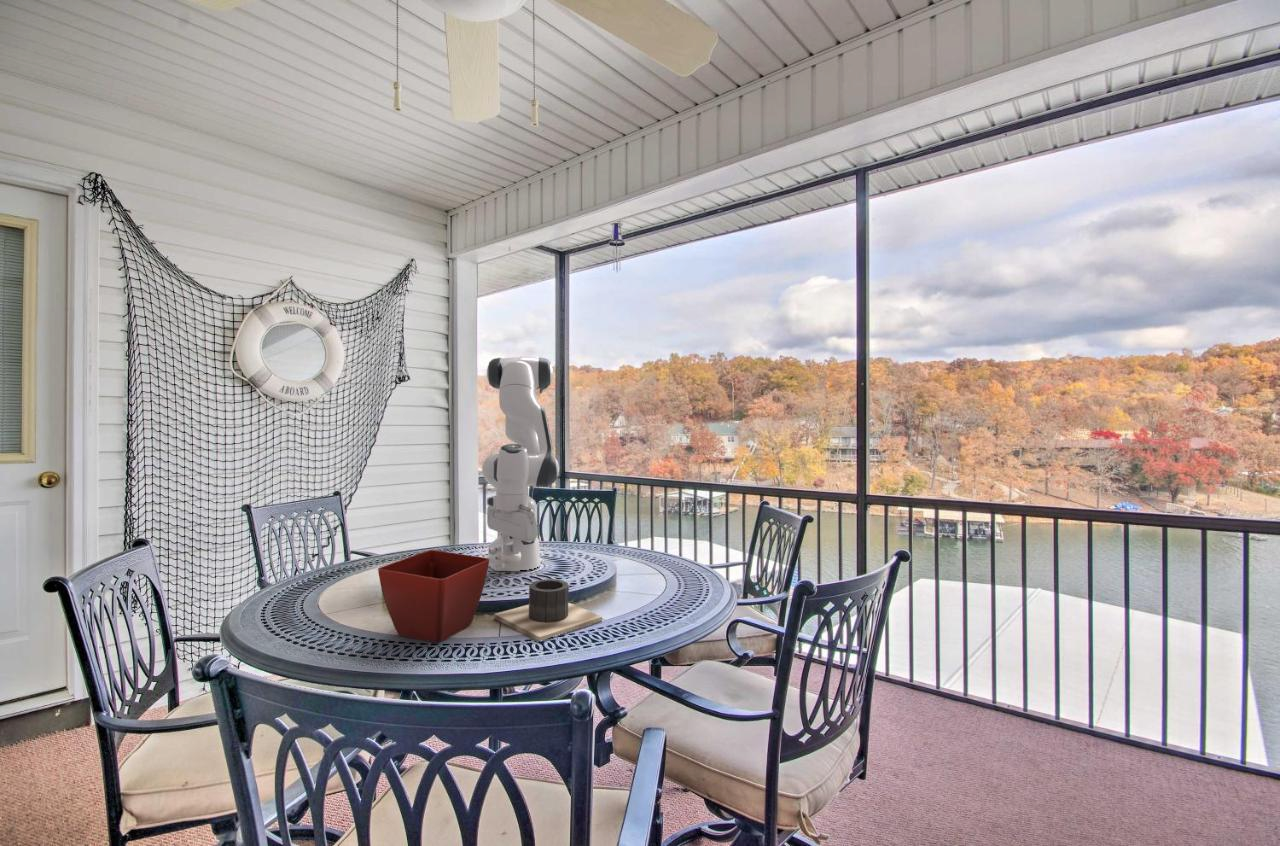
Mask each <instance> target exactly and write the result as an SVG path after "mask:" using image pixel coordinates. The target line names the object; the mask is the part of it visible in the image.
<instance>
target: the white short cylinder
mask: <svg viewBox="0 0 1280 846" xmlns="http://www.w3.org/2000/svg"><path fill="white" fill-rule="evenodd" d="M511 545H513V542H510V543H505V544H503V552H502V553H501V562H502V563H507V564H513V563H518V562H520V561H521V553H520V552H519V551H518V552H515V553H514V552H512V551H511Z"/></svg>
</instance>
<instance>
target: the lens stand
mask: <svg viewBox="0 0 1280 846" xmlns="http://www.w3.org/2000/svg"><path fill="white" fill-rule="evenodd" d="M569 589H570V586H569V583H568V582H566V581H564V580H561V579H556V578H555V579H553V578H552V579H550V578H548V579H539V580H536V581H535V580H534V581H533V582H531V583H530V584H529V589H528V604H525V605H521V606H519V607H515V608H511V609H508V610H503V611H500V612H496V613H494V617H493V619H494V620H496V621H498V622H501V623H502V624H503V625H506V626H508V627H510V628H512V629H514V630H516V631H517V632H519V633H521V634H523V635H525V636H528V637H530V638H531V639H533V640H535V639H536V640H535V641H537V640H538V641H537V642H539V641H541V640H544V641H546V640H545V639H547V638H550V637H553V636H555V635H559V634H562V633H565V632H568V633H570V632H569V631H571V632H573V631H572V630H574V631H576V630H575V629H577V630H580V629H583V628H586V627H589V626H591V625H595V624H598V623H601V622H603V616H601V615H599V614H597V613H595V612H592V611H590V610H588V609H585V608H582V607H580V606H578V605H575V604H573V603H571V602H569V595H570V594H569V592H570V591H569ZM579 628H580V629H579ZM565 634H566V633H565ZM562 635H563V634H562ZM559 636H560V635H559ZM553 638H554V637H553ZM550 639H551V638H550ZM547 640H548V639H547ZM541 642H542V641H541Z"/></svg>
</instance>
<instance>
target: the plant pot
mask: <svg viewBox="0 0 1280 846" xmlns="http://www.w3.org/2000/svg"><path fill="white" fill-rule="evenodd" d="M483 557H484V556H483ZM483 557H482V556H476V555H469V554H462V553H455V552H448V551H441V550H437V549H429V550H425V551H423V552H421V553H420V552H419V553H417V554H414V555H411V556H409V557H406V558H404V559H401V560H397V561H395V562H394V561H393V562H391V563H389V564H386V565H383V566H380V567H378V568H377V572H378V578H379V583H380V587H381V593H382V596H383V600H384V603H385V605H386V608H387V612H388V615H389V617H390V619H391V621H392V624H393V627H394V629H395V632H396V634H397V635H399V636H403V637H409V638H412V639H418V640H422V641H426V642H432V643H436V644H437V643H441V642H443V641H445V640H446V639H448V638H450V637H452V636H453V635H455V634H457V633H458V632H460V631H462V630H464V629H465V628H467V627H469V626H470V625H472V622H473V619H474V617H475V614H476V612H477V609H478V607H479V604H480V600H481V597H482V594H483V591H484V588H485V587H484V586H485V582H486V579H487V574H488V570H489V566H488V565H489V559H488V558H483Z"/></svg>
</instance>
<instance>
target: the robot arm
mask: <svg viewBox="0 0 1280 846" xmlns="http://www.w3.org/2000/svg"><path fill="white" fill-rule="evenodd" d="M553 368H554V367H553V366H552V363H551V361H550V360H549V359H547V358H545V357H544V358H543V357H533V356H532V357H530V356H519V357H518V356H516V357H515V356H514V357H503V358H502V357H496V358H493V359H491V360H490V361H488V365H487V368H486V379H487V382H488V384H489V385H490V386H491V387H492V388H494V389H498V390H499V391H498V392H499V393H498V400H499V401H498V402H499V407H500V410H501V412H502V413H503V414H504V415H505V427H504V428H505V429H504V430H505V431H504V432H505V435H506V438H507V439H508V440H510V441H511V442H513V443H508V444H505V445H502V446H500V448H499V451H498V453H495V454H490V455H488V456H487V457H486V458H485V460H484V461H483V464H482V466H481V467H482V468H481V473H482V477H483V479H484V480H485V482H487V483H488V484H489V485H490V486H492V487H493V488H494V489H495V490H496V493H495V494H496V495H493V496H489V497H487V498H486V505H487V509H486V522H487V527H488V528H489V530H492V531H495V532H497V533H500V534H499V536H498V537H497V538H495V539H494V540H493V541H492V542H491V543H490V544H489V545H488V554H487V555H485V556H483V558H488V559H489V565H488V568H490V569H492V570H494V571H495V572H505V571H506V572H521V571H520V570H527V571H530V570H529V569H532V570H535V569H534V568H536V569H538V568H540V567H541V563H542V562H543V558H542V557H541V552H540V551H541V550H540V549H541V548H540V539H539V538H538V531H539V529H538V528H539V527H538V524H537V513H538V511H537V503H536V500H535V499H533V498H532V497H531V496H530V495H529V488H528V487H540V488H548V487H550V486H551V485H553V484H554V483H555V482H556V481H557V480H558V476H559V474H560V464H559V461H558V460H557V458H556V455H555V452H554V451H555V450H554V447H553V441H552V436H551V430H550V424H549V422H548V416H547V413H546V409H545V408H544V407H542V406H541V405H539V403H538V397H537V390H539V394H543V391H544V390H546V389H547V388H549V386H551V383H552V381H553V379H554V369H553ZM510 542H513V545H511V551H512V552H514V553H515V552H518V551H519V552H520V553H521V561H520V562H518V563H513V564H507V563H502V562H501V553H502V552H503V544H505V543H510ZM537 567H538V568H537Z"/></svg>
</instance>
